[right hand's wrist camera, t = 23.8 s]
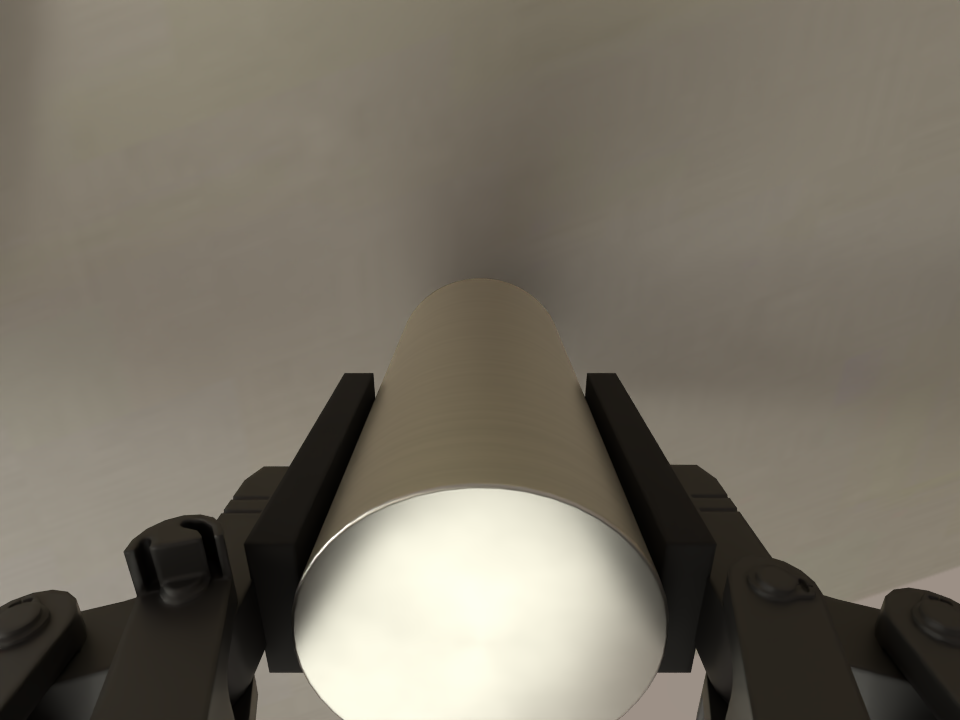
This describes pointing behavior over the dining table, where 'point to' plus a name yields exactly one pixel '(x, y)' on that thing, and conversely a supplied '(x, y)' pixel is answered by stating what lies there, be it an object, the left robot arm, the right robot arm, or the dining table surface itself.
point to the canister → (480, 536)
